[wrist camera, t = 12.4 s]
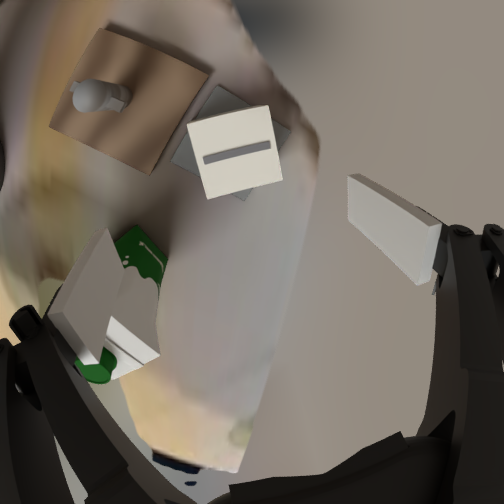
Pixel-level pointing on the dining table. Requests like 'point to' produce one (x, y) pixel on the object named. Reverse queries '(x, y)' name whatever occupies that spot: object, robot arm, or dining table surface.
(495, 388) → the robot arm
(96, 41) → the post stand
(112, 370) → the milk carton
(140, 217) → the dining table surface
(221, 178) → the white drawer box
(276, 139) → the mat
